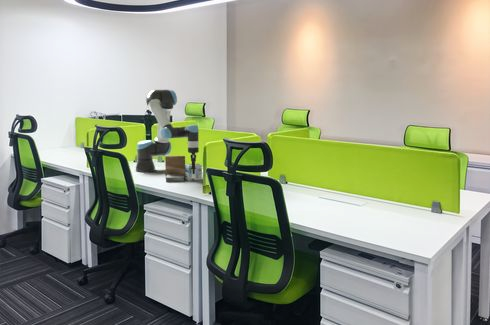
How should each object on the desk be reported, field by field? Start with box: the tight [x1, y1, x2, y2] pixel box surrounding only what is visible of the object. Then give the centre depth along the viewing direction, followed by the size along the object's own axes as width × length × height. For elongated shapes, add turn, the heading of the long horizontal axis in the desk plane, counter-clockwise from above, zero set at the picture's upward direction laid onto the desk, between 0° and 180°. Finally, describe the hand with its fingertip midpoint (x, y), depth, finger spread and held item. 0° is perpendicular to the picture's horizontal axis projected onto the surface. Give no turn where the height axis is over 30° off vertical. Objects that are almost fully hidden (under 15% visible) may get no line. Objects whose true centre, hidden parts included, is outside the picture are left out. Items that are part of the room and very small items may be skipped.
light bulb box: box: [184, 163, 203, 182], centre depth 311 cm, size 11×7×11 cm, turn 117°
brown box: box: [164, 155, 186, 183], centre depth 309 cm, size 14×14×16 cm
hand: (193, 176), depth 311 cm, fingers open, 13 cm apart
